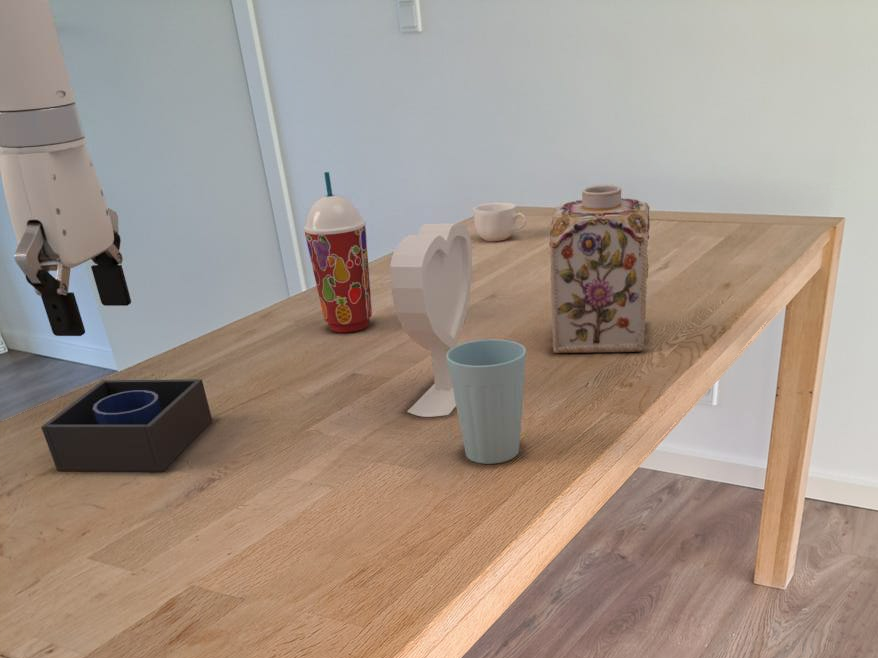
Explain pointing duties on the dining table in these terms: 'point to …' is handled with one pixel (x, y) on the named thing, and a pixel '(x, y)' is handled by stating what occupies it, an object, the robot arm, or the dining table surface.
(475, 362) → the cup
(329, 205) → the smoothie
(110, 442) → the dish tub
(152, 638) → the dining table surface
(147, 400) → the cylindrical container
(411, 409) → the heart sculpture
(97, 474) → the dining table surface
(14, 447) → the dining table surface
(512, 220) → the teacup
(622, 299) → the decorative jar
